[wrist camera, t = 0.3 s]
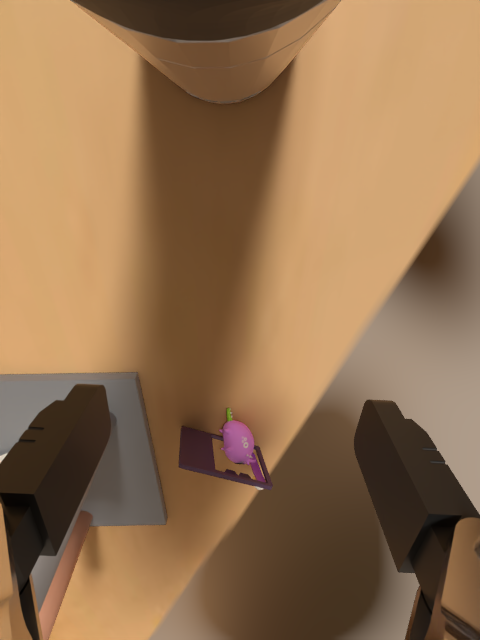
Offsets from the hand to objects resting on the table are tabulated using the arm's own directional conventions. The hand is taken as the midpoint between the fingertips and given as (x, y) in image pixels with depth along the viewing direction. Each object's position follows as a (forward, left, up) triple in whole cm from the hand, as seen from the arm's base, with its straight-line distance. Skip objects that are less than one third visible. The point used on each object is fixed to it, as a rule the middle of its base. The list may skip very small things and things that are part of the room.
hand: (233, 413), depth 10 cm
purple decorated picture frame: (+20, -1, -18) cm, 27 cm away
